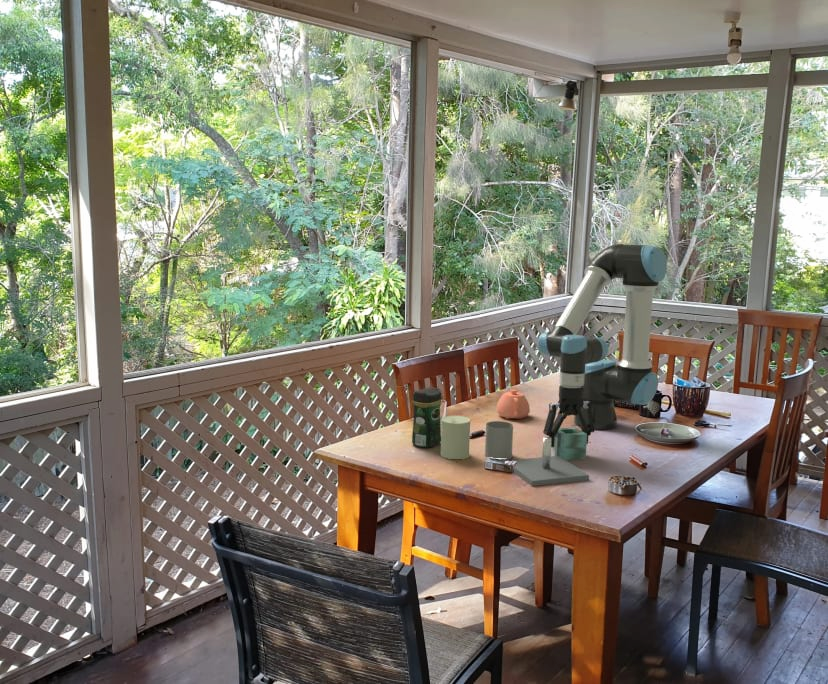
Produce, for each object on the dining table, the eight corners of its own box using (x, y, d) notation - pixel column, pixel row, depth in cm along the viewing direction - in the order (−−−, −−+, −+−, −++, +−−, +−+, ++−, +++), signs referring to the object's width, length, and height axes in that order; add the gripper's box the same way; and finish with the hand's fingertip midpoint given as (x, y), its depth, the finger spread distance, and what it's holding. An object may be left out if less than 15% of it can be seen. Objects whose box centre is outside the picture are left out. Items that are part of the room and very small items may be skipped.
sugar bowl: (526, 412, 291) (527, 386, 289) (533, 422, 277) (534, 395, 275) (494, 412, 291) (495, 385, 289) (499, 422, 277) (500, 394, 275)
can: (435, 457, 236) (436, 419, 234) (445, 449, 245) (446, 412, 243) (464, 461, 233) (465, 423, 231) (473, 452, 241) (474, 416, 239)
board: (558, 460, 236) (558, 455, 235) (588, 480, 219) (589, 475, 218) (504, 465, 230) (504, 460, 230) (531, 486, 213) (532, 480, 213)
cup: (484, 451, 243) (485, 420, 242) (510, 451, 243) (511, 421, 241) (485, 459, 235) (487, 428, 233) (512, 460, 235) (514, 428, 233)
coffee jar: (424, 438, 256) (426, 384, 252) (444, 443, 251) (446, 387, 248) (407, 445, 248) (408, 389, 245) (427, 450, 243) (428, 393, 240)
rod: (547, 466, 226) (549, 436, 224) (551, 468, 223) (553, 438, 222) (540, 466, 225) (541, 437, 223) (544, 469, 223) (545, 439, 221)
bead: (572, 451, 245) (574, 426, 243) (585, 458, 237) (587, 434, 236) (550, 453, 242) (551, 428, 241) (562, 461, 235) (564, 436, 234)
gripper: (545, 390, 229) (541, 462, 233) (609, 386, 236) (605, 456, 240) (533, 384, 236) (530, 454, 240) (596, 381, 243) (592, 449, 247)
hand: (567, 455), depth 240 cm, fingers open, 9 cm apart
